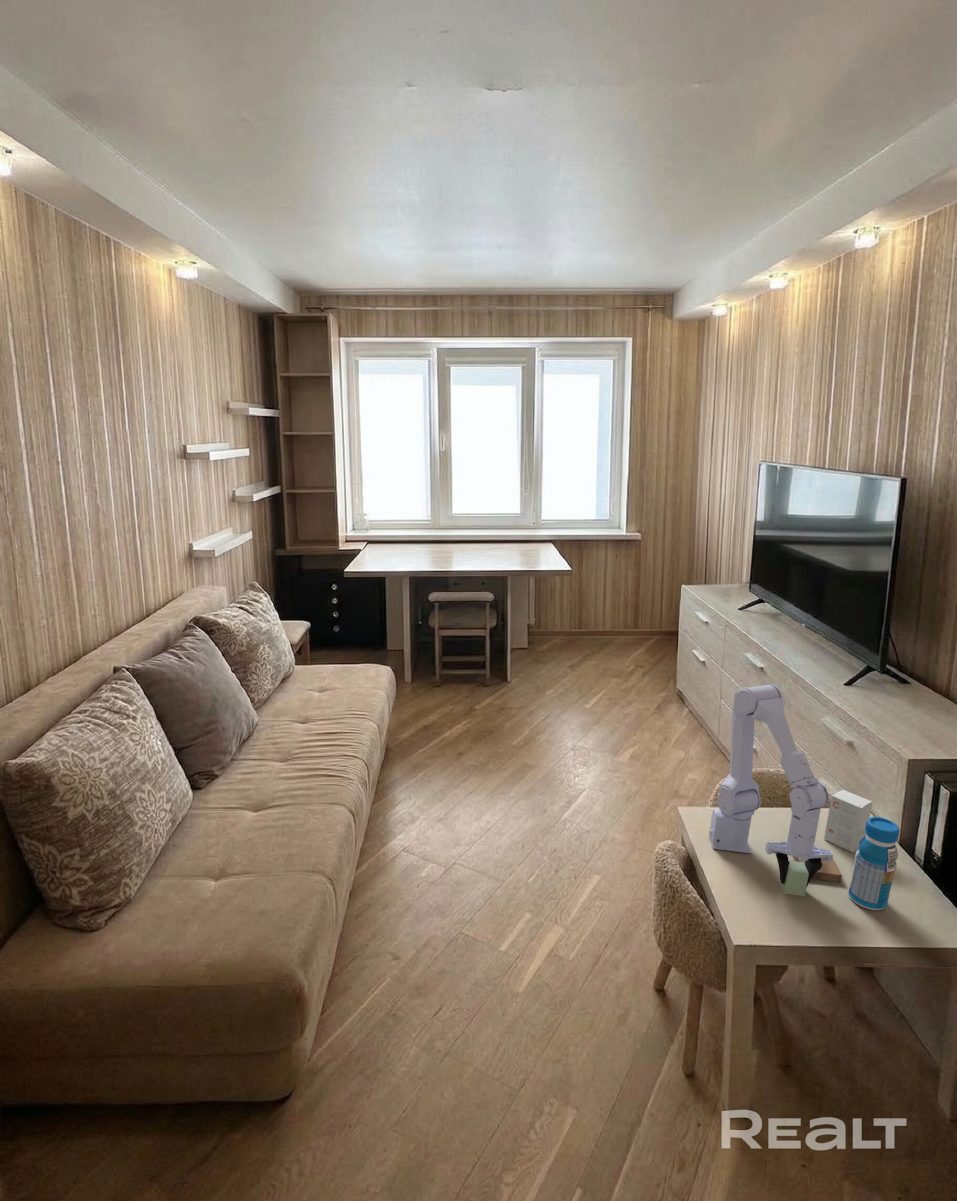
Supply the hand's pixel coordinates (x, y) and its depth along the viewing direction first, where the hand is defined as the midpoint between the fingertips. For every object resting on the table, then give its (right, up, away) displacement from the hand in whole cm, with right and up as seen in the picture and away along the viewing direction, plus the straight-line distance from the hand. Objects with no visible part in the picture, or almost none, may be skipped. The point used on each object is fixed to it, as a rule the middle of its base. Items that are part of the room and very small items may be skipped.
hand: (793, 883), depth 180 cm
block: (0, -2, 0) cm, 2 cm away
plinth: (+9, 0, +9) cm, 13 cm away
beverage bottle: (+16, -3, -2) cm, 17 cm away
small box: (+22, +2, +22) cm, 31 cm away
